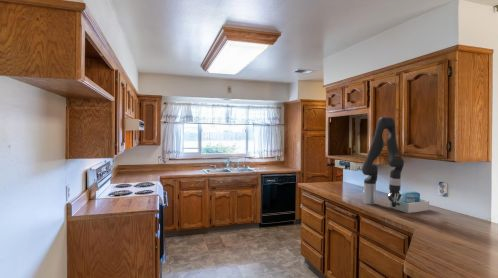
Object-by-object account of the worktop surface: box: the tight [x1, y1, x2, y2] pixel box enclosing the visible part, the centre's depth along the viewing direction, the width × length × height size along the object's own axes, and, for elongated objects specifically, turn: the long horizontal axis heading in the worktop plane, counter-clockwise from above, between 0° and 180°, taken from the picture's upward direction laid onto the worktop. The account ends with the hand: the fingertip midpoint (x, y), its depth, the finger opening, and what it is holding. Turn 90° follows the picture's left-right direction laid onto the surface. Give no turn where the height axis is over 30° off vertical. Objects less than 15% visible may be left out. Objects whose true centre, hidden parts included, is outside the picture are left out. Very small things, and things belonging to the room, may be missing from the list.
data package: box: [401, 191, 421, 203], centre depth 229 cm, size 12×4×12 cm, turn 95°
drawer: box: [389, 200, 409, 214], centre depth 228 cm, size 15×23×7 cm, turn 111°
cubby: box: [399, 197, 430, 214], centre depth 229 cm, size 15×22×7 cm
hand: (393, 206), depth 218 cm, fingers closed
